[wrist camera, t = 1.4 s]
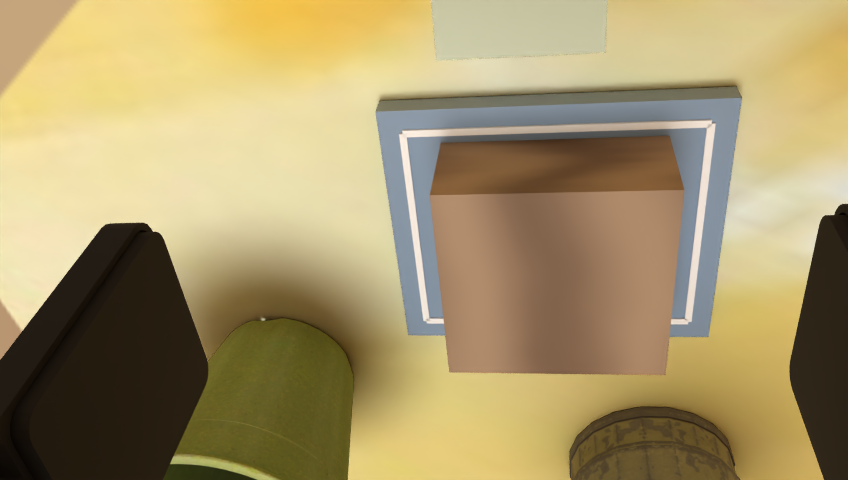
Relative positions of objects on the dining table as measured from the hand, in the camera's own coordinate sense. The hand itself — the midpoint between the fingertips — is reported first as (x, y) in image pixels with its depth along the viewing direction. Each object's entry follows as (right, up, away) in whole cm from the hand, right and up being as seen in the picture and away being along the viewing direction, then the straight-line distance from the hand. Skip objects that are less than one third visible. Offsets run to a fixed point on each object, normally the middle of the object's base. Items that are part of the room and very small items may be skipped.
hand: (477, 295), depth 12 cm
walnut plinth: (+5, +2, +24) cm, 24 cm away
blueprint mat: (+5, +2, +24) cm, 24 cm away
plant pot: (-8, -6, +31) cm, 33 cm away
